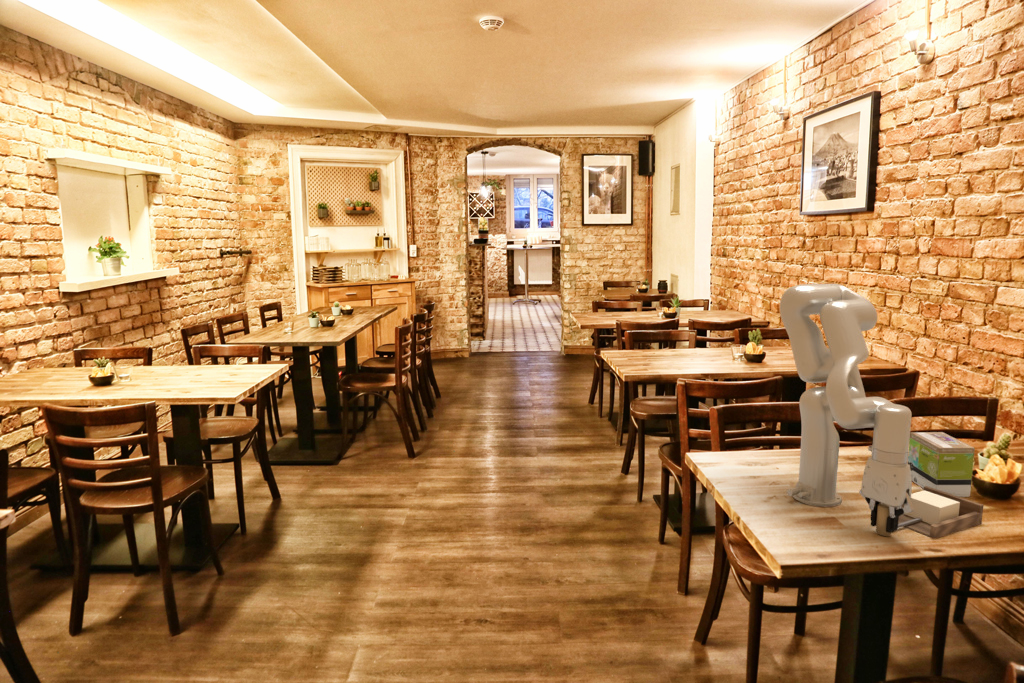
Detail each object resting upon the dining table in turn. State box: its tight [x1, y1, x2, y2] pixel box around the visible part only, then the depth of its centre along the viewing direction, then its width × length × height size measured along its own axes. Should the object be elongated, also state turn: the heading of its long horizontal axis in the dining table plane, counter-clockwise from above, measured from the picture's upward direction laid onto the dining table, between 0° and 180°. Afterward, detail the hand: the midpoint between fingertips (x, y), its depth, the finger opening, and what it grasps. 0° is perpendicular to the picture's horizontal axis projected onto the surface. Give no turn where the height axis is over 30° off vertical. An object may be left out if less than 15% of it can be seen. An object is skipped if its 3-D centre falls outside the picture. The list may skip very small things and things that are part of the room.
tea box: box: [907, 431, 975, 498], centre depth 191 cm, size 15×10×15 cm
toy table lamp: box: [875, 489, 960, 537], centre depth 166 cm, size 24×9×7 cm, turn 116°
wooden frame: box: [898, 486, 984, 540], centre depth 169 cm, size 19×14×5 cm
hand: (883, 527), depth 162 cm, fingers closed on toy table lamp, 3 cm apart
